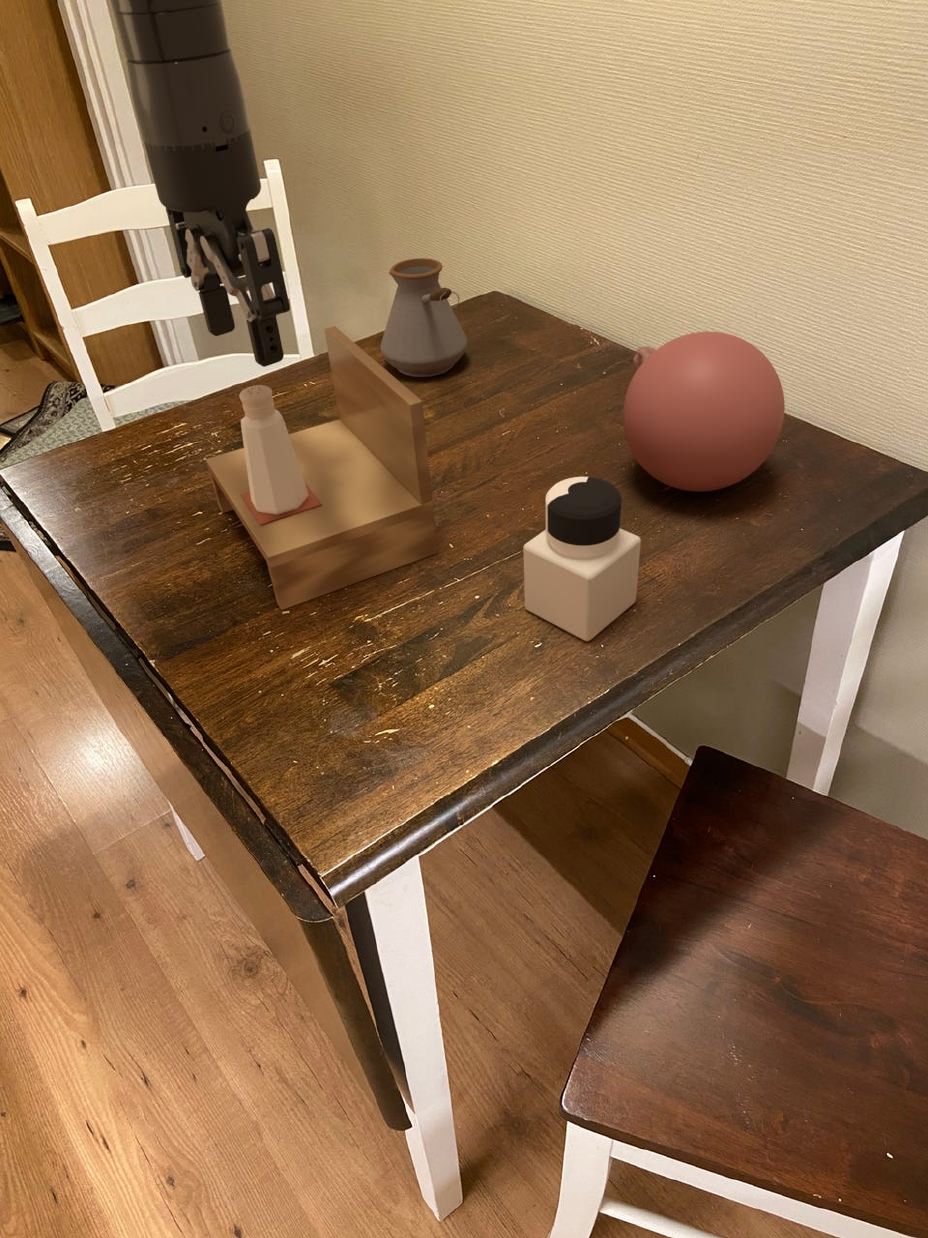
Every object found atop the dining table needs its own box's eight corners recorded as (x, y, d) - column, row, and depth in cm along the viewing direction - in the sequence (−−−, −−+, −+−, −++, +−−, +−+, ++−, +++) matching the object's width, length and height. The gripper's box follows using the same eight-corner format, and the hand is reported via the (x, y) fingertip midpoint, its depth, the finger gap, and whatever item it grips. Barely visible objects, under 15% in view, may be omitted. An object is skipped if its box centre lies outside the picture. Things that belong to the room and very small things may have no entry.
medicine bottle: (637, 602, 78) (647, 485, 70) (587, 644, 74) (592, 526, 66) (573, 571, 82) (575, 458, 74) (523, 609, 78) (520, 494, 70)
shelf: (281, 610, 80) (241, 455, 70) (219, 508, 94) (178, 366, 83) (437, 553, 85) (422, 400, 75) (357, 464, 99) (334, 325, 89)
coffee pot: (374, 355, 121) (359, 242, 111) (454, 340, 123) (447, 228, 113) (412, 424, 105) (399, 300, 95) (503, 406, 107) (499, 282, 98)
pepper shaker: (311, 481, 85) (289, 374, 78) (306, 513, 81) (283, 402, 73) (255, 486, 85) (228, 379, 78) (247, 517, 81) (218, 407, 73)
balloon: (705, 414, 103) (722, 281, 93) (800, 503, 88) (832, 356, 78) (581, 439, 100) (585, 305, 90) (657, 534, 85) (671, 386, 75)
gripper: (108, 125, 65) (168, 336, 76) (190, 154, 57) (245, 389, 67) (200, 107, 69) (246, 312, 79) (291, 131, 60) (329, 358, 70)
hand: (246, 347), depth 73 cm, fingers open, 8 cm apart
